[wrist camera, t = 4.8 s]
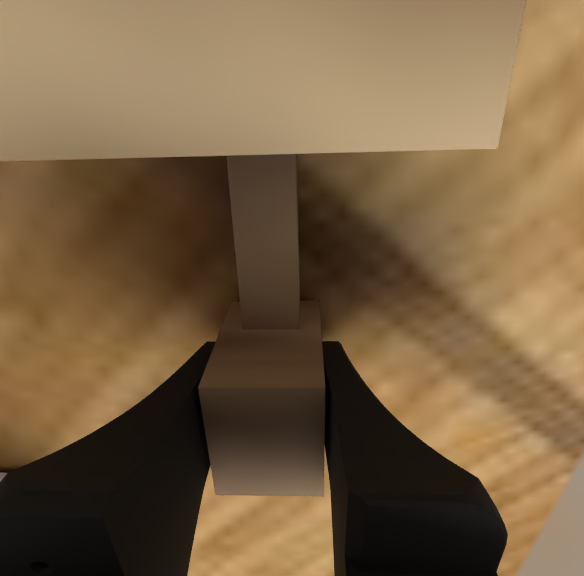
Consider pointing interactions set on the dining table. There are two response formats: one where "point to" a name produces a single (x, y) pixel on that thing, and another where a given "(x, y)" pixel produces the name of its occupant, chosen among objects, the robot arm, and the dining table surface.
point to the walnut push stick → (266, 347)
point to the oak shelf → (252, 76)
